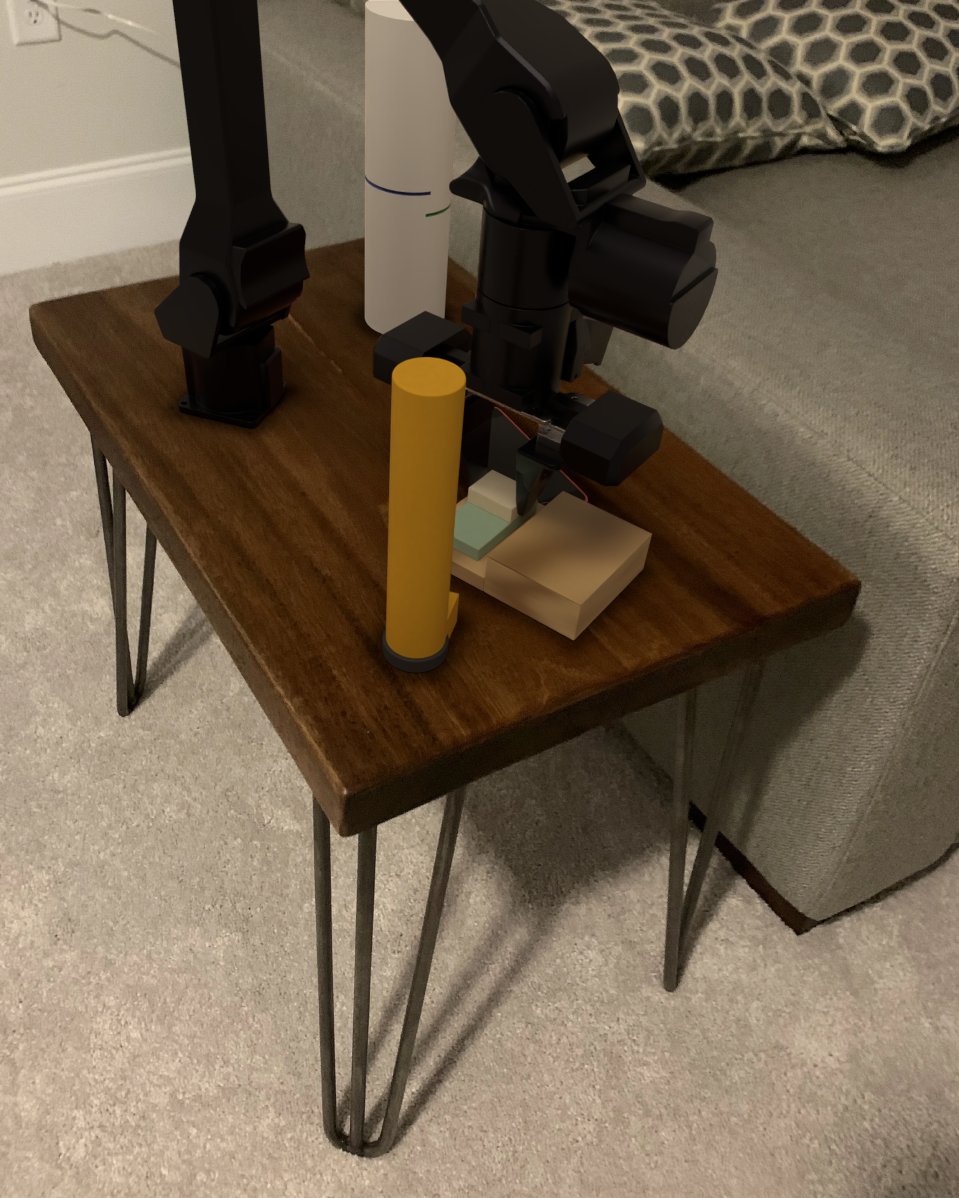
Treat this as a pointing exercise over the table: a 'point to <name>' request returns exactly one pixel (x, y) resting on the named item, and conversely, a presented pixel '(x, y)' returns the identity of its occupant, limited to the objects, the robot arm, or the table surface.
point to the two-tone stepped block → (487, 515)
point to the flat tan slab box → (559, 563)
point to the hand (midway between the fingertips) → (500, 500)
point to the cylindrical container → (405, 169)
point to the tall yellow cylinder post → (422, 511)
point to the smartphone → (504, 453)
